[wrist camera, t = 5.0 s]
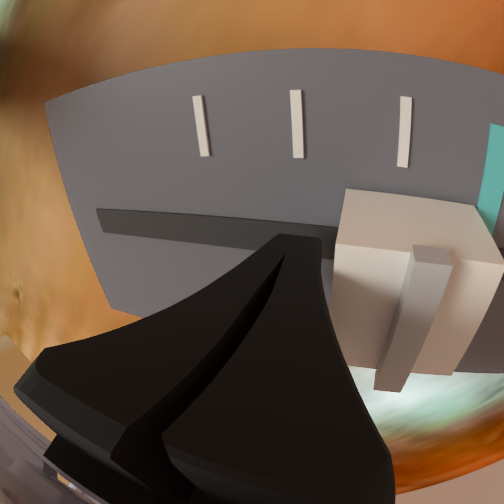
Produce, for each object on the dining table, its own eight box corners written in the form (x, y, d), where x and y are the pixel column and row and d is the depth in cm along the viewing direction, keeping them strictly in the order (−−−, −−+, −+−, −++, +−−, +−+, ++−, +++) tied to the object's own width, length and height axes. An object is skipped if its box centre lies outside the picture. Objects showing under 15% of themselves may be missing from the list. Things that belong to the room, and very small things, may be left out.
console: (504, 343, 12) (512, 375, 10) (129, 287, 19) (110, 309, 17) (582, 109, 5) (612, 123, 4) (74, 92, 12) (42, 103, 10)
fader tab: (441, 311, 10) (449, 395, 7) (337, 299, 11) (318, 381, 8) (475, 199, 7) (517, 274, 5) (346, 182, 9) (332, 251, 6)
